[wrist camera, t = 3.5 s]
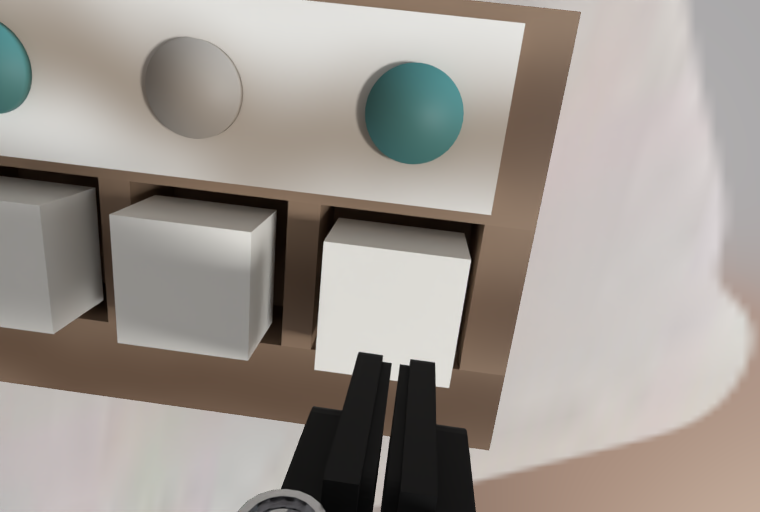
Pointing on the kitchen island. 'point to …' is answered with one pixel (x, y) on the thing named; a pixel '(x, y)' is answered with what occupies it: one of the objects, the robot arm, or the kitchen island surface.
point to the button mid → (193, 275)
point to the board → (303, 265)
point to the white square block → (391, 296)
